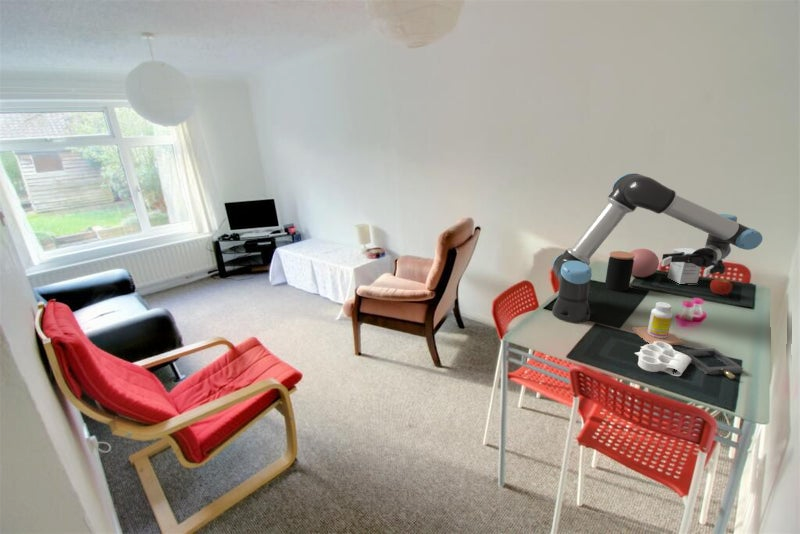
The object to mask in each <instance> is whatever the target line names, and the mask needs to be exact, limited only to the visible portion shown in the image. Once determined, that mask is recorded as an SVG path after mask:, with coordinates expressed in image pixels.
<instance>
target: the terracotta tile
mask: <svg viewBox="0 0 800 534" xmlns="http://www.w3.org/2000/svg"><path fill="white" fill-rule="evenodd" d="M631 330H632V331H633V332H634V333H635V334H636V335H638V337H640V338H641V339H642V338H643V340H644V341H645V342H646V343H647V342H648V343H649V344H653V342H654V341H661V342H665V343H667V344H669V345H671V346H679V345H681V346H682V345H684V344H685V341H684V340H682V339H680V338H679V337H678V336H677V335H675V334H674V333H672V332H671V331H669V333H668V336H667V337H666V338H656V337H653V336H651V335H649V334H648V332H647V330H648V326H639V327H637V326H636V327H635V326H634V327H632V328H631ZM648 343H647V344H648Z"/></svg>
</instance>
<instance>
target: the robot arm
mask: <svg viewBox="0 0 800 534" xmlns="http://www.w3.org/2000/svg"><path fill="white" fill-rule="evenodd" d="M637 208H641V209H644V210H648V211H650V212H653V213H656V214H658V215H661V214H664V215H667V216H669V217H671V218H673V219H676V220H677V221H681V222H682V223H685V224H687V225H689V226H690V227H693V228H696V229H698V230H700V231H702V232H705V233H706V234H707V238H706V242H705V245H704V246H702V247H701V248H698V249H695V250H696V251H695V252H693V253H692V254H686V255H685V253H684V252H681V253H673V252H672V253H663V254H662V259H661V265H660V267H666V266H668V265H670V263H671V262H685V263H692V264H695V265H697V266H699V267H701V268H704V270H703V274H702V277H707V276H709V275H712V274H717V273H719V274H721V275H724V274H725V271H726V265H725V264H724V263H723V261H724V260H725V259H726V258H727V257H728V256H729V255H730V253H731V252H732V247H731V245H733V246H734V247H736V248H739V249H742V250H746V251H748V250H750V251H751V250H754V249H756V248H757V247H759V246H760V245H761V243H762V242H763V239H764V238H763V235H762V233H761V232H759V231H757V230H756V229H753V228H750V227H748V226H745V225H743V224H741V223H739V222H738V217H737V216H736V215H734V214H733V215H732V214H726V213H717V212H715V211H712V210H710V209H708V208H706V207H703V206H702V205H699V204H697V203H694V202H693V201H690V200H688V199H686V198H684V197H681V196H679V195H677V192H676V191H675V190H673V189H672V188H669V187H667V186H665V185H663V184H662V183H660V182H659V181H657V180H656V179H654V178H651V177H649V176H646V175H643V174H640V173H626V174H623V175H621V176H620V177H618V178H617V179H616V180H615V181H614V183H613V186H612V191H611V193H610V194H609V195H608V196H607V203H606V205H605V206H604V207H603V209H601V211H600V212H599V214H598V215H597V216H596V217H595V219H594V220H593V221H592V222H591V224H590V225H589V226H588V227H587V229H586V230H585V231H584V232H583V233H582V235H581V236H580V238H579V239H577V241H576V243H575V244H574V245H573V246H572V247H570V248H566V249H565V251H563V253H561V254H559V255H557V256H556V257H555V259H554V260H553V263H552V270H553V273H554V275H555V276H556V278H557V280H558V282H559V286H558V297H557V298H556V301H555V302H554V304H553V306H552V312H551V313H552V315H553V316H554V317H555V318H556V319H558V320H561V321H564V322H569V323H585V322H587V321H589V320H590V319H591V318H590V317H591V309H590V305H589V302H588V301H589V299H588V298H589V292H590V286H591V279H592V268H591V266H590V264H591V259H590V258H592V257H593V255H594V254H595V252H596V251H597V250H598V248H599V247H600V246H601V245H602V244H603V243H604V242H605V240H606V239H607V238H608V237H609V235H610V234H611V233H612V231H614V229H615V228H616V227H617V226H618V225H619V224H620V222H621V221H622V220H623V218H625V216H626V215H627V214H629V213H633V212H634V211H635V210H636V209H637ZM688 260H689V261H688Z"/></svg>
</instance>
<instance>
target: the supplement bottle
mask: <svg viewBox="0 0 800 534" xmlns="http://www.w3.org/2000/svg"><path fill="white" fill-rule="evenodd" d="M671 309H672V305H671V304H669V303H668V302H663V301H659V302H658V301H657V302H656V303H655V307H654V308H653V309H651V312H650V315H649V321H648V326H647V327H648V330H647V332H648V334H649V335H651V336H653V337H656V338H666V337H667V336H668V333H669V332H670V329H671V328H670V326H671V324H672V318H673V313H672V311H671Z"/></svg>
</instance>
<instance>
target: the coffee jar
mask: <svg viewBox="0 0 800 534" xmlns="http://www.w3.org/2000/svg"><path fill="white" fill-rule="evenodd" d="M634 257H635V255H634V254H632V253H630V252H628V251H621V250H619V251H617V250H615V251H611V252H609V257H608V262H607V263H608V264H607V268H606V276H605V283H604V284H605V287H606V288H607V289H608V290H609V291H614V292H625V291H627V290H628V289H629V288H630V285H631V280H632V279H631V278H632V276H633V275H632V269H633V264H634V260H633V258H634Z"/></svg>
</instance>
